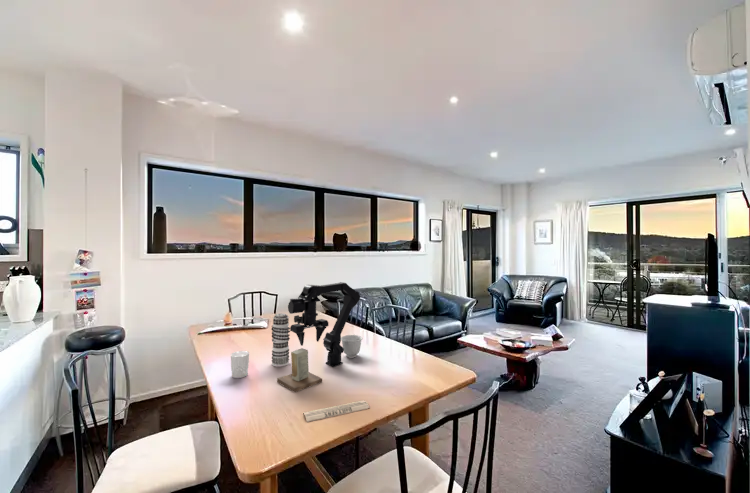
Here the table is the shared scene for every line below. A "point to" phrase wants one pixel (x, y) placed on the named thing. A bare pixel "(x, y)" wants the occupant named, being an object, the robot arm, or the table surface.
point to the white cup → (239, 364)
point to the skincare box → (299, 364)
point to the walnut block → (299, 382)
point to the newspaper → (336, 410)
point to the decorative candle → (280, 340)
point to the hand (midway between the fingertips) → (309, 343)
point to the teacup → (351, 345)
